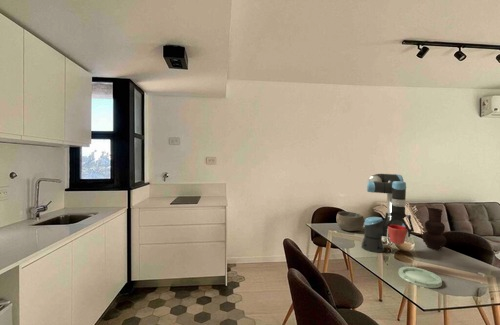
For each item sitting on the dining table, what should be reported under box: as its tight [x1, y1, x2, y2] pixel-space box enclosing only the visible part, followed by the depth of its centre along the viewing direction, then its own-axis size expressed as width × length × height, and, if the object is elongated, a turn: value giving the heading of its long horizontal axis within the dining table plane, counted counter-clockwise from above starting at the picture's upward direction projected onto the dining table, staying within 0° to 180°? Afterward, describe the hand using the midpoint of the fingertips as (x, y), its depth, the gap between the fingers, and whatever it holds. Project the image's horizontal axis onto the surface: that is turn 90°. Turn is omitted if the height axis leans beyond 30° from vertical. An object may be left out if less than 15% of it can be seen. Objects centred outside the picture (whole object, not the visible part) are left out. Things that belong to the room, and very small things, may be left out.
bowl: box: [335, 211, 365, 232], centre depth 227 cm, size 24×24×15 cm
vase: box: [421, 207, 448, 251], centre depth 184 cm, size 15×15×30 cm
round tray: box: [398, 266, 443, 289], centre depth 136 cm, size 20×20×2 cm
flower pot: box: [388, 225, 408, 245], centre depth 154 cm, size 11×11×10 cm
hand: (397, 239), depth 155 cm, fingers closed on flower pot, 10 cm apart
